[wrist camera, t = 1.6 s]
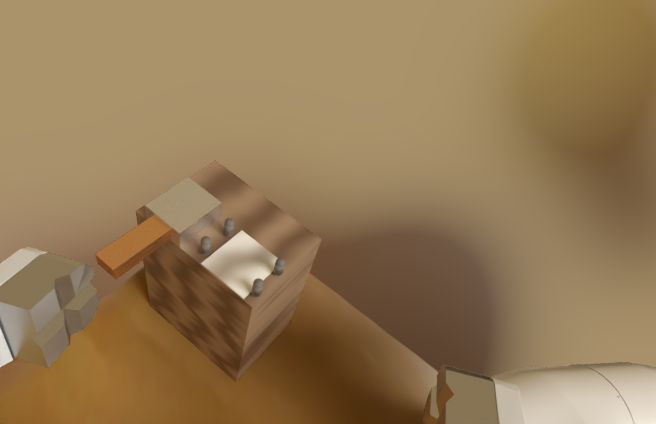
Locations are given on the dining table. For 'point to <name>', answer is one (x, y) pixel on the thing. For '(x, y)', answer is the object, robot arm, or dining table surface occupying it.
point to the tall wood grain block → (232, 274)
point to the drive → (162, 226)
